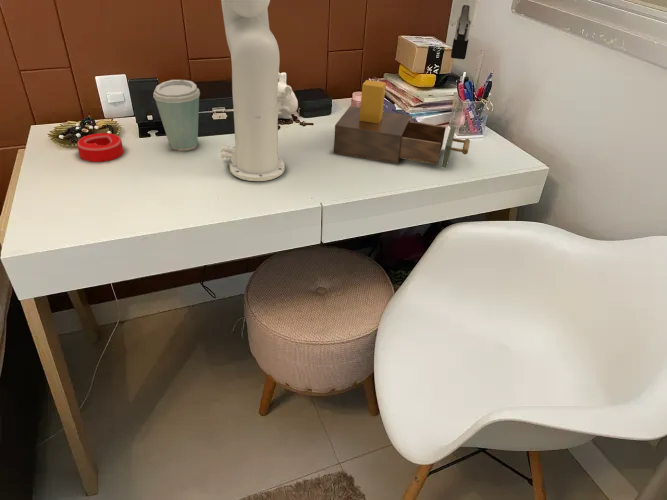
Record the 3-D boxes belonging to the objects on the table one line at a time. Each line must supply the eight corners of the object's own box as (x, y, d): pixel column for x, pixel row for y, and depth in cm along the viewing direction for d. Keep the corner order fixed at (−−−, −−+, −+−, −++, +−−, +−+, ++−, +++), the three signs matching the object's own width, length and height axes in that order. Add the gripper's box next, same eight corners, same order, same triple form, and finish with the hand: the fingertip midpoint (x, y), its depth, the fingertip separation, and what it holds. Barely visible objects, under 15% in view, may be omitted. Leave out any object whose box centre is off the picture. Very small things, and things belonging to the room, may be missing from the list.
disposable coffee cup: (195, 157, 126) (189, 95, 117) (152, 152, 127) (143, 90, 118) (211, 140, 134) (206, 81, 126) (170, 135, 135) (163, 76, 127)
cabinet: (407, 142, 140) (411, 115, 136) (397, 164, 129) (401, 135, 125) (347, 132, 144) (349, 106, 139) (333, 153, 132) (335, 124, 128)
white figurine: (268, 112, 152) (267, 70, 146) (290, 110, 155) (290, 69, 148) (277, 123, 146) (277, 80, 139) (300, 121, 149) (301, 78, 142)
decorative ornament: (126, 144, 129) (124, 132, 128) (119, 161, 122) (117, 148, 120) (84, 144, 128) (82, 132, 126) (75, 162, 120) (72, 149, 118)
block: (359, 120, 131) (362, 84, 126) (362, 115, 134) (366, 79, 129) (378, 123, 130) (382, 87, 125) (382, 118, 133) (386, 82, 128)
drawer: (467, 150, 136) (472, 129, 133) (463, 171, 126) (468, 149, 123) (393, 138, 140) (396, 117, 137) (383, 157, 130) (386, 135, 126)
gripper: (458, -40, 115) (444, 48, 126) (452, -31, 103) (437, 64, 114) (493, -37, 114) (476, 51, 124) (491, -28, 102) (473, 68, 112)
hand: (457, 57), depth 119 cm, fingers closed
